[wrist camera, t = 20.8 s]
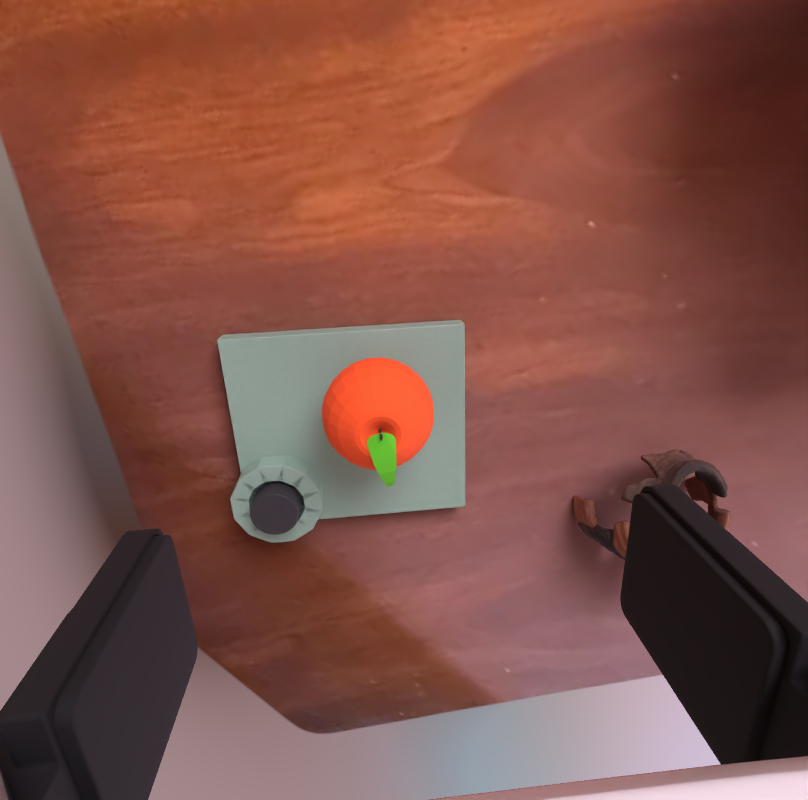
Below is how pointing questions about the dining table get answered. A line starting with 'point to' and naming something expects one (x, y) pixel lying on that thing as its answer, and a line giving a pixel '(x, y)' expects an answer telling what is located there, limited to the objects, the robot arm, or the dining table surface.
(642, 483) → the broken mug
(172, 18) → the dining table surface
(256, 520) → the tare button
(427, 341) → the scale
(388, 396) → the clementine
